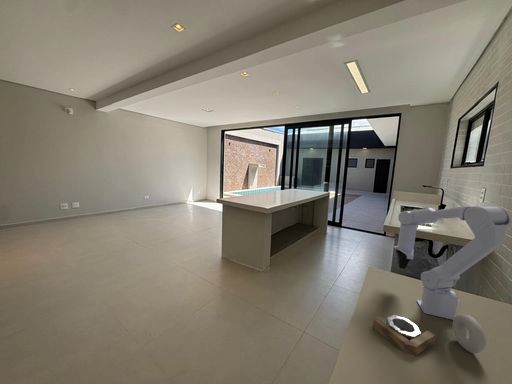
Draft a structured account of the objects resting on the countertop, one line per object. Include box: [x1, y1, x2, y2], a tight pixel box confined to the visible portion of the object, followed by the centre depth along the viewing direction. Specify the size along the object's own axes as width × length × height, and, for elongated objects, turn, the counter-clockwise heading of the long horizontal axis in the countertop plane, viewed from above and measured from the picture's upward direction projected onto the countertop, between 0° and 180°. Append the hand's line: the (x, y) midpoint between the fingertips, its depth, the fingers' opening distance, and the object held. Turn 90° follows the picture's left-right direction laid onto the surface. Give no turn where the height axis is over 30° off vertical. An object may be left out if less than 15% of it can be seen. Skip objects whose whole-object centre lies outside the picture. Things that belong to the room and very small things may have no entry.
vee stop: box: [372, 317, 436, 357], centre depth 65 cm, size 17×9×3 cm, turn 70°
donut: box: [452, 313, 487, 354], centre depth 64 cm, size 10×4×10 cm, turn 168°
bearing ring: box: [386, 314, 422, 340], centre depth 68 cm, size 8×8×4 cm
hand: (402, 267), depth 94 cm, fingers closed
